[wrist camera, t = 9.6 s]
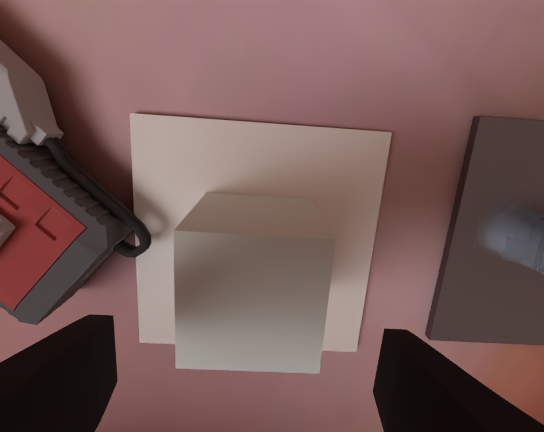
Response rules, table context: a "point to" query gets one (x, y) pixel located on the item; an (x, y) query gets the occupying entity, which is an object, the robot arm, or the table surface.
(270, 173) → the mat
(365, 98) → the table surface
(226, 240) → the pale grey cube box
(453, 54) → the table surface
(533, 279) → the post base
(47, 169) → the chainsaw
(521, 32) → the table surface
